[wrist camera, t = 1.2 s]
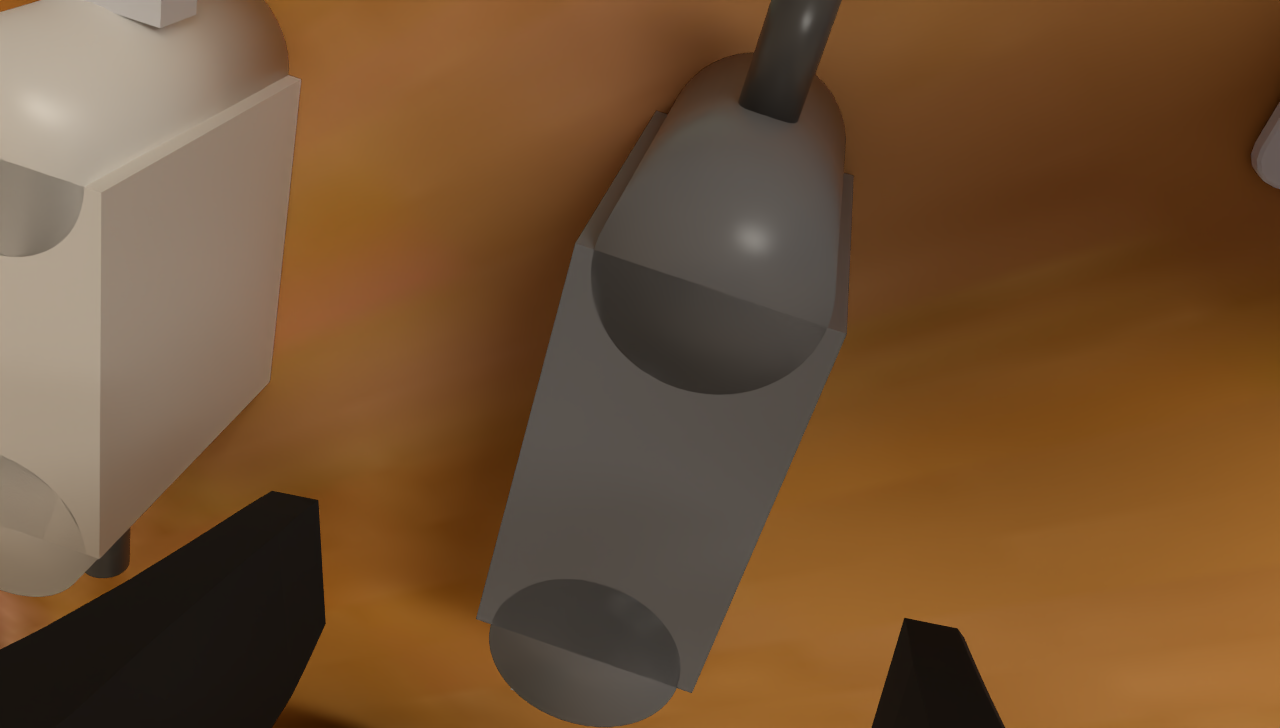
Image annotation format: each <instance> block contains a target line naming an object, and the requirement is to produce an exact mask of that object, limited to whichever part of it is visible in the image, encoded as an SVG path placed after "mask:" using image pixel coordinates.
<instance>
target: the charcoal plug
mask: <svg viewBox="0 0 1280 728" xmlns="http://www.w3.org/2000/svg"><path fill="white" fill-rule="evenodd" d="M841 1H842V0H771V2H770V5H769V9H768V12H767V15H766V18H765V21H764V24H763V27H762V30H761V33H760V36H759V39H758V42H757V45H756V48H755V51H754V53H743V54H737V55H733V56H729V57H726V58H723V59H721V60H719V61H716V62H714V63H712V64H711V65H709V66H707V67H706V68H704V69H703V70H701V71H700V72H699V73H698V74H696V75H695V76H694V77H693V78H692V79H691V80H690V81H689V82H688V83H687V84H686V86H685V87H684V88H683V90H682V91H681V93H680V94H679V96H678V97H677V99H676V101H675V103H674V104H673V106H672V108H671V110H670V111H669V113H668V114H665V113H662V112H659V111H656V112H655V114H654V115H653V117H652V118H651V120H650V122H649V123H648V125H647V127H646V128H645V130H644V132H643V133H642V135H641V136H640V138H639V140H638V141H637V143H636V145H635V146H634V148H633V150H632V151H631V153H630V155H629V156H628V158H627V159H626V161H625V163H624V164H623V166H622V168H621V169H620V171H619V173H618V174H617V176H616V177H615V179H614V181H613V182H612V184H611V186H610V187H609V189H608V191H607V192H606V194H605V196H604V197H603V199H602V200H601V202H600V204H599V205H598V207H597V209H596V210H595V212H594V214H593V215H592V217H591V218H590V220H589V222H588V223H587V225H586V227H585V228H584V230H583V232H582V233H581V235H580V237H579V238H578V240H577V241H576V243H575V247H574V250H573V254H572V258H571V262H570V265H569V269H568V273H567V277H566V281H565V284H564V288H563V292H562V296H561V299H560V303H559V307H558V311H557V315H556V318H555V322H554V326H553V330H552V334H551V337H550V341H549V345H548V349H547V352H546V356H545V360H544V364H543V368H542V371H541V375H540V379H539V383H538V387H537V390H536V394H535V398H534V402H533V405H532V409H531V413H530V417H529V421H528V424H527V428H526V432H525V436H524V439H523V443H522V447H521V451H520V455H519V458H518V462H517V466H516V470H515V474H514V477H513V481H512V485H511V489H510V492H509V496H508V500H507V504H506V508H505V511H504V515H503V519H502V523H501V527H500V530H499V534H498V538H497V542H496V545H495V549H494V553H493V557H492V561H491V564H490V568H489V572H488V576H487V579H486V583H485V587H484V591H483V595H482V598H481V602H480V606H479V610H478V614H477V617H476V619H478V620H481V621H483V622H486V623H489V624H491V627H490V632H489V644H490V650H491V654H492V657H493V660H494V663H495V665H496V667H497V669H498V671H499V672H500V674H501V675H502V677H503V678H504V680H505V681H506V682H507V683H508V685H509V686H510V687H511V690H514V691H515V692H516V693H517V694H518V695H519V696H520V697H522V698H523V699H524V700H526V701H527V702H528V703H529V704H531V705H533V706H534V707H536V708H537V709H539V710H541V711H543V712H545V713H547V714H549V715H551V716H553V717H556V718H559V719H561V720H564V721H568V722H571V723H575V724H580V725H585V726H594V727H613V726H622V725H627V724H632V723H635V722H638V721H641V720H643V719H645V718H647V717H649V716H651V715H653V714H654V713H656V712H657V711H659V710H660V709H661V708H662V707H663V706H664V705H665V704H667V702H668V701H669V700H670V698H671V697H672V696H673V694H674V692H675V690H676V688H679V689H682V690H684V691H687V692H690V693H692V691H693V689H694V687H695V684H696V682H697V680H698V677H699V675H700V673H701V670H702V668H703V666H704V664H705V661H706V659H707V657H708V654H709V652H710V650H711V647H712V645H713V643H714V640H715V638H716V636H717V633H718V631H719V629H720V626H721V624H722V622H723V619H724V617H725V615H726V612H727V610H728V608H729V606H730V603H731V601H732V599H733V596H734V594H735V592H736V589H737V587H738V585H739V582H740V580H741V578H742V575H743V573H744V571H745V568H746V566H747V564H748V561H749V559H750V557H751V555H752V552H753V550H754V548H755V545H756V543H757V541H758V538H759V536H760V534H761V531H762V529H763V527H764V524H765V522H766V520H767V517H768V515H769V513H770V510H771V508H772V506H773V504H774V501H775V499H776V497H777V494H778V492H779V490H780V487H781V485H782V483H783V480H784V478H785V476H786V473H787V471H788V469H789V466H790V464H791V462H792V459H793V457H794V455H795V453H796V450H797V448H798V446H799V443H800V441H801V439H802V436H803V434H804V432H805V429H806V427H807V425H808V422H809V420H810V418H811V415H812V413H813V411H814V408H815V406H816V404H817V402H818V399H819V397H820V395H821V392H822V390H823V388H824V385H825V383H826V381H827V378H828V376H829V374H830V371H831V369H832V367H833V364H834V362H835V360H836V357H837V355H838V353H839V351H840V348H841V346H842V344H843V341H844V339H845V337H846V334H847V315H848V293H849V270H850V247H851V225H852V202H853V180H854V176H853V175H850V174H847V173H844V161H845V143H846V136H845V126H844V122H843V118H842V114H841V111H840V109H839V106H838V104H837V102H836V100H835V98H834V97H833V95H832V93H831V92H830V90H829V89H828V88H827V86H826V85H825V84H824V83H823V82H822V81H821V80H820V79H819V78H818V77H817V76H816V75H815V73H816V70H817V67H818V65H819V62H820V59H821V56H822V54H823V51H824V48H825V45H826V42H827V40H828V37H829V34H830V31H831V29H832V26H833V23H834V20H835V17H836V15H837V12H838V9H839V6H840V4H841Z"/></svg>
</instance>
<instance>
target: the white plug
mask: <svg viewBox="0 0 1280 728" xmlns="http://www.w3.org/2000/svg"><path fill="white" fill-rule="evenodd" d="M288 71H289V62H288V52H287V47H286V43H285V39H284V36H283V33H282V30H281V28H280V26H279V24H278V21H277V19H276V17H275V16H274V14H273V12H272V11H271V9H270V7H269V6H268V5H267V3H266V2H265V1H264V0H40V1H37V2H33V3H30V4H26V5H23V6H20V7H16V8H13V9H9V10H6V11H3V12H0V590H2V591H5V592H9V593H12V594H17V595H22V596H31V597H43V596H50V595H54V594H57V593H60V592H62V591H64V590H66V589H68V588H69V587H70V586H72V585H73V584H74V583H75V582H76V581H77V580H78V579H79V578H80V577H81V576H82V575H83V574H84V573H86V574H88V575H90V576H92V577H96V578H110V577H114V576H117V575H119V574H121V573H122V572H124V571H125V570H126V569H127V567H128V566H129V562H130V527H131V526H132V525H133V524H134V523H135V522H136V521H137V519H138V518H139V517H140V516H141V515H142V514H143V513H144V512H145V511H146V510H147V509H148V508H149V507H150V506H151V505H152V504H153V503H154V502H155V501H156V500H157V499H158V498H159V497H160V496H161V495H162V493H163V492H164V491H165V490H166V489H167V488H168V487H169V486H170V485H171V484H172V483H173V482H174V481H175V480H176V479H177V478H178V477H179V476H180V475H181V474H182V473H183V472H184V471H185V470H186V469H187V467H188V466H189V465H190V464H191V463H192V462H193V461H194V460H195V459H196V458H197V457H198V456H199V455H200V454H201V453H202V452H203V451H204V450H205V449H206V448H207V447H208V446H209V445H210V444H211V443H212V441H213V440H214V439H215V438H216V437H217V436H218V435H219V434H220V433H221V432H222V431H223V430H224V429H225V428H226V427H227V426H228V425H229V424H230V423H231V422H232V421H233V420H234V419H235V418H236V417H237V415H238V414H239V413H240V412H241V411H242V410H243V409H244V408H245V407H246V406H247V405H248V404H249V403H250V402H251V401H252V400H253V399H254V398H255V397H256V396H257V395H258V394H259V393H260V392H261V391H262V389H263V388H264V387H265V386H266V385H267V384H268V383H269V382H270V376H271V366H272V357H273V347H274V337H275V328H276V318H277V309H278V299H279V289H280V280H281V270H282V260H283V251H284V241H285V231H286V222H287V212H288V203H289V193H290V183H291V174H292V164H293V154H294V145H295V135H296V125H297V116H298V106H299V96H300V87H301V79H299V78H296V77H293V76H290V75H288Z"/></svg>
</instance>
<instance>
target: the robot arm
mask: <svg viewBox="0 0 1280 728" xmlns="http://www.w3.org/2000/svg"><path fill="white" fill-rule="evenodd" d="M1251 161H1252V167H1253V168H1254V170H1255V171H1256V173H1257V174H1258V176H1259V177H1260V178H1261V179H1262V180H1263V181H1264V182H1266V183H1268V184H1269V185H1271V186H1273V187H1275V188H1278V189H1280V102H1279V104H1278V105H1277V107H1276V109H1275V110H1274V112H1273V114H1272V115H1271V117H1270V119H1269V120H1268V122H1267V124H1266V125H1265V127H1264V129H1263V130H1262V132H1261V134H1260V135H1259V137H1258V139H1257V140H1256V142H1255V145H1254V147H1253V150H1252V153H1251ZM325 624H326V623H325V606H324V589H323V572H322V555H321V538H320V521H319V504H318V500H315V499H310V498H305V497H300V496H295V495H290V494H285V493H280V492H275V491H271V492H269V493H268V494H266V495H264V496H263V497H261V498H259V499H258V500H256V501H254V502H253V503H251V504H249V505H248V506H246V507H245V508H243V509H241V510H240V511H238V512H237V513H235V514H234V515H232V516H230V517H229V518H227V519H226V520H224V521H223V522H221V523H219V524H218V525H216V526H215V527H213V528H212V529H210V530H209V531H207V532H205V533H204V534H202V535H201V536H199V537H198V538H196V539H194V540H193V541H191V542H190V543H188V544H186V545H185V546H183V547H182V548H180V549H178V550H177V551H175V552H174V553H172V554H170V555H169V556H167V557H165V558H164V559H162V560H161V561H159V562H157V563H156V564H154V565H152V566H151V567H149V568H148V569H146V570H144V571H143V572H141V573H139V574H138V575H136V576H135V577H133V578H131V579H130V580H128V581H126V582H125V583H123V584H121V585H119V586H117V587H116V588H114V589H112V590H110V591H109V592H107V593H105V594H103V595H101V596H100V597H98V598H96V599H94V600H92V601H91V602H89V603H87V604H85V605H84V606H82V607H80V608H78V609H76V610H75V611H73V612H71V613H69V614H67V615H66V616H64V617H62V618H60V619H58V620H57V621H55V622H53V623H51V624H50V625H48V626H46V627H44V628H42V629H40V630H38V631H36V632H34V633H32V634H30V635H29V636H27V637H25V638H23V639H21V640H19V641H16V642H14V643H12V644H10V645H8V646H6V647H4V648H2V649H0V728H272V726H273V725H274V723H275V722H276V720H277V719H278V717H279V715H280V714H281V712H282V711H283V709H284V707H285V706H286V704H287V702H288V701H289V699H290V698H291V696H292V694H293V692H294V690H295V688H296V686H297V684H298V682H299V680H300V678H301V676H302V673H303V671H304V669H305V667H306V665H307V663H308V661H309V659H310V657H311V654H312V652H313V650H314V648H315V646H316V644H317V641H318V639H319V637H320V635H321V633H322V630H323V628H324V626H325ZM872 728H1005V727H1004V725H1003V722H1002V720H1001V718H1000V716H999V714H998V712H997V710H996V708H995V706H994V704H993V702H992V700H991V698H990V695H989V693H988V691H987V689H986V687H985V685H984V682H983V680H982V678H981V676H980V673H979V671H978V669H977V667H976V664H975V662H974V660H973V657H972V655H971V653H970V651H969V648H968V646H967V643H966V641H965V639H964V637H963V636H962V634H961V633H960V631H959V630H958V629H957V628H952V627H947V626H942V625H937V624H932V623H927V622H922V621H917V620H912V619H907V618H904V621H903V625H902V628H901V631H900V635H899V638H898V641H897V645H896V648H895V651H894V655H893V658H892V661H891V665H890V668H889V671H888V675H887V678H886V681H885V685H884V688H883V691H882V695H881V698H880V701H879V705H878V708H877V711H876V715H875V718H874V721H873V725H872Z"/></svg>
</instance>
